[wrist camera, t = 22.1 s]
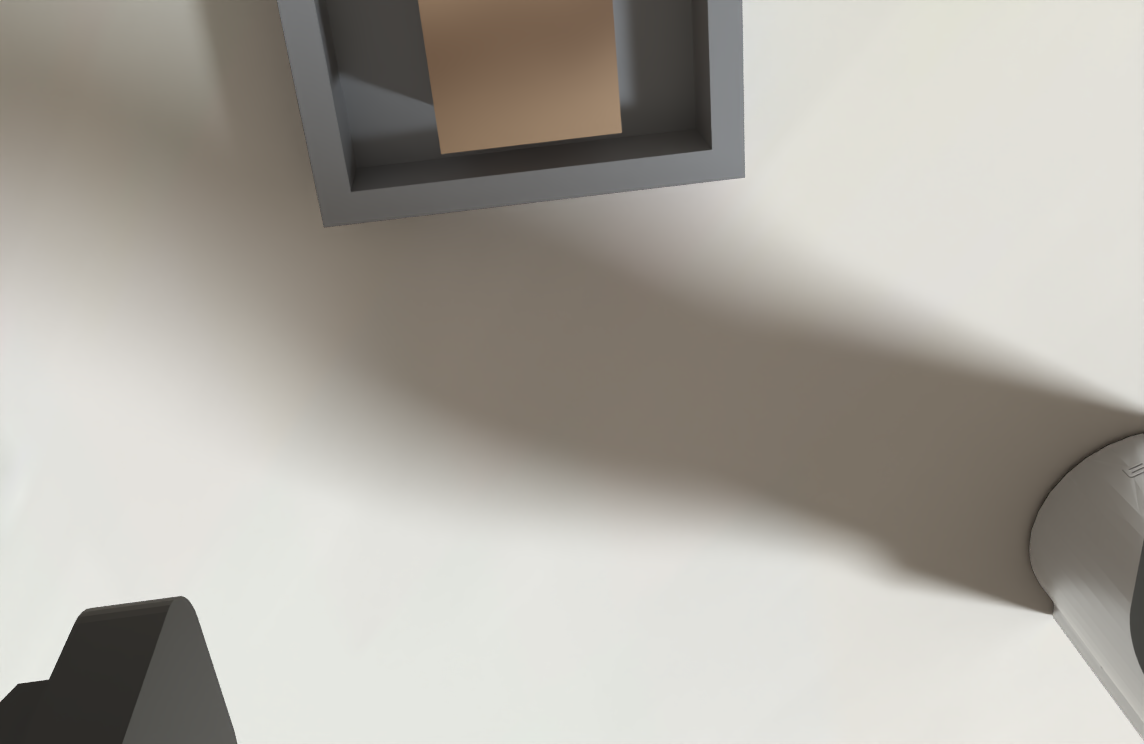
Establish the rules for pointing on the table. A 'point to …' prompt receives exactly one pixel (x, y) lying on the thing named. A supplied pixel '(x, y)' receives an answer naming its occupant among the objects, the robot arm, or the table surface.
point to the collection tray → (521, 172)
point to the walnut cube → (520, 71)
